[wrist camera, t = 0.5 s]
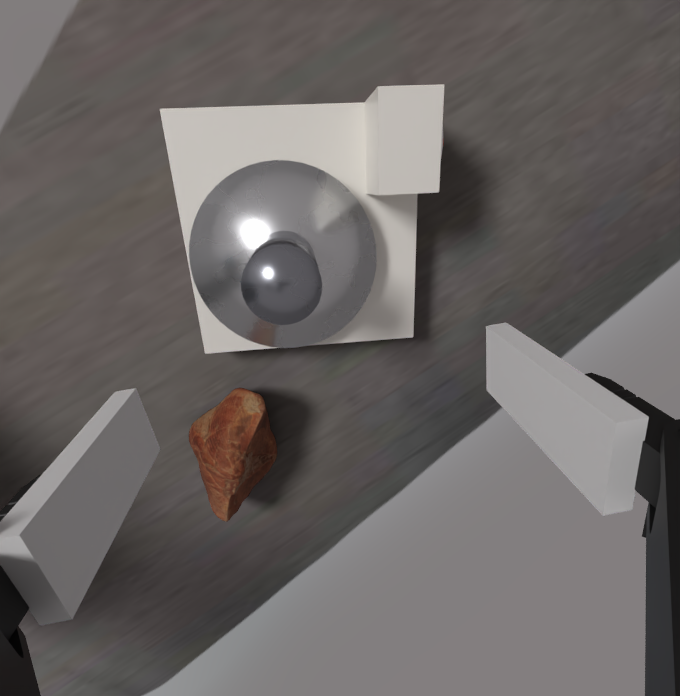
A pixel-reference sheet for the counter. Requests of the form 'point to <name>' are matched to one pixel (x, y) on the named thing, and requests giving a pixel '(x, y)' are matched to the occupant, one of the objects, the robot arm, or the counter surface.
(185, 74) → the counter surface
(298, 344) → the pan
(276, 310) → the metal cylinder
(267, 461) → the brown lumpy chunk
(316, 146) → the scale
